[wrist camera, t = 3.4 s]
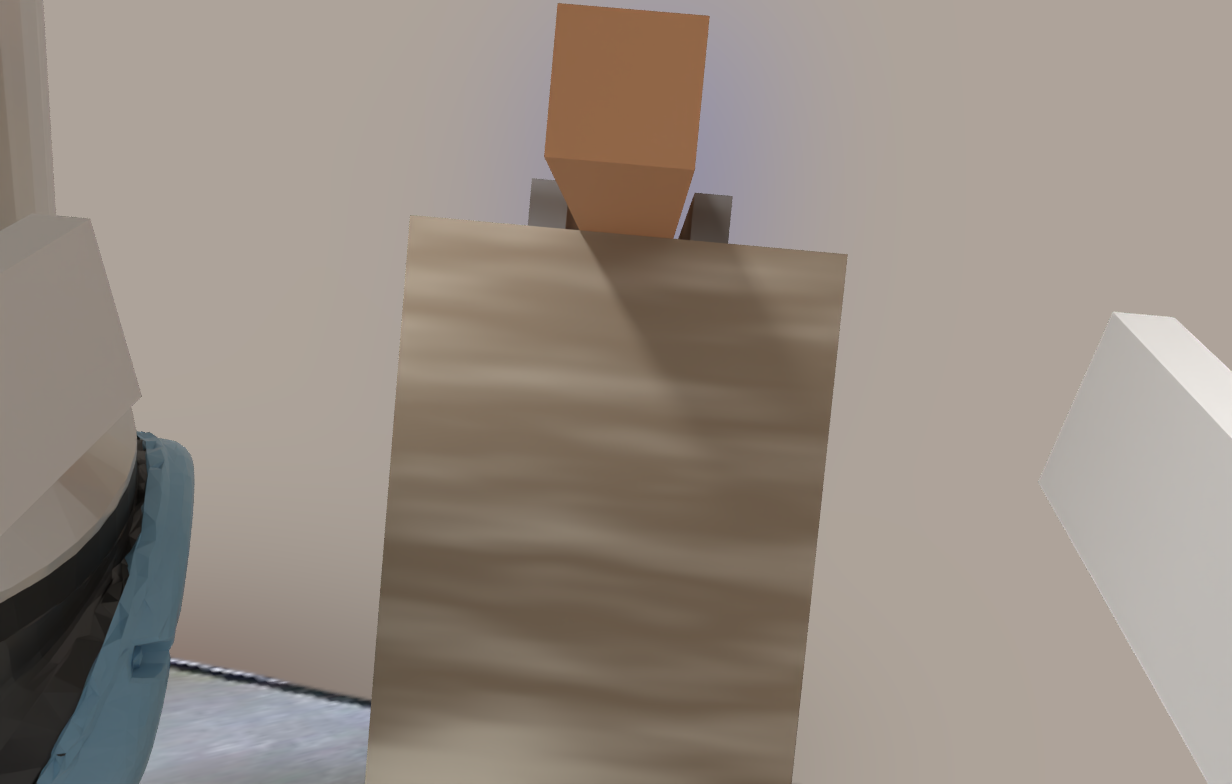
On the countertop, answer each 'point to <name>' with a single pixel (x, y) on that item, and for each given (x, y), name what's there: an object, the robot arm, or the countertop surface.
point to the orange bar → (625, 115)
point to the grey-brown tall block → (601, 503)
